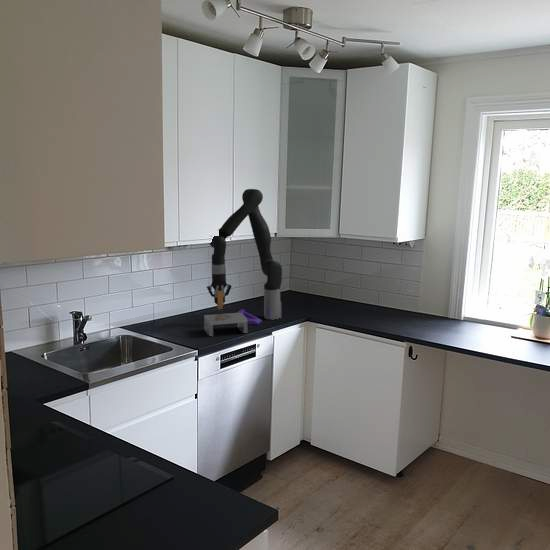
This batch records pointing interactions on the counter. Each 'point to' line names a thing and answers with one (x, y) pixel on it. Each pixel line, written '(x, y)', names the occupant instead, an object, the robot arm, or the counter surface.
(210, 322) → the grey slotted platform
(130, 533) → the counter surface
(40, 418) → the counter surface
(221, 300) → the orange rectangular block
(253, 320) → the bracket
